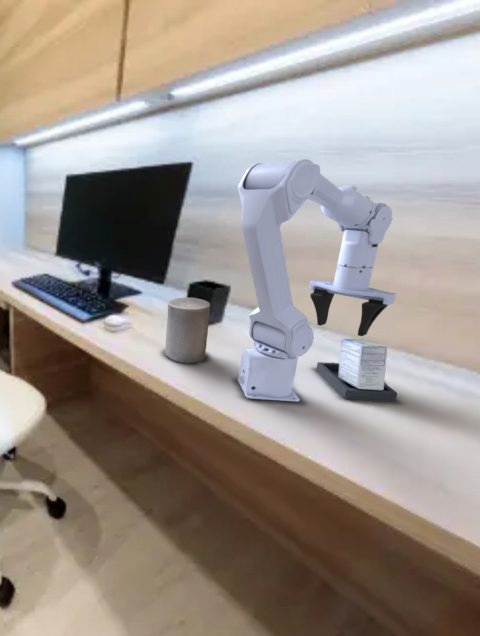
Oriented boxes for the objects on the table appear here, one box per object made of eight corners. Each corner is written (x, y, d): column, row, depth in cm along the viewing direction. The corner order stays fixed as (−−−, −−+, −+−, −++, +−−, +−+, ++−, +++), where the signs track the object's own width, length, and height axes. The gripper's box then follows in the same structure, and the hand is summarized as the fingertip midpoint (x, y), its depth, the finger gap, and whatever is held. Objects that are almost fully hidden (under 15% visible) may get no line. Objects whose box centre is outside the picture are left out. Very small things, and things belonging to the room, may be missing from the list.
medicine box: (384, 391, 72) (389, 346, 71) (356, 389, 73) (361, 344, 72) (361, 380, 80) (365, 339, 79) (337, 378, 81) (341, 338, 80)
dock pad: (344, 398, 74) (346, 390, 73) (315, 369, 85) (317, 362, 85) (395, 401, 72) (397, 393, 71) (359, 371, 84) (361, 364, 83)
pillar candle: (208, 351, 97) (214, 294, 92) (201, 366, 89) (206, 305, 84) (170, 345, 102) (173, 290, 97) (159, 359, 94) (162, 300, 89)
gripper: (409, 268, 71) (392, 335, 76) (326, 258, 84) (315, 316, 88) (392, 273, 68) (374, 343, 73) (308, 262, 80) (297, 322, 85)
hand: (341, 329), depth 80 cm, fingers open, 7 cm apart
